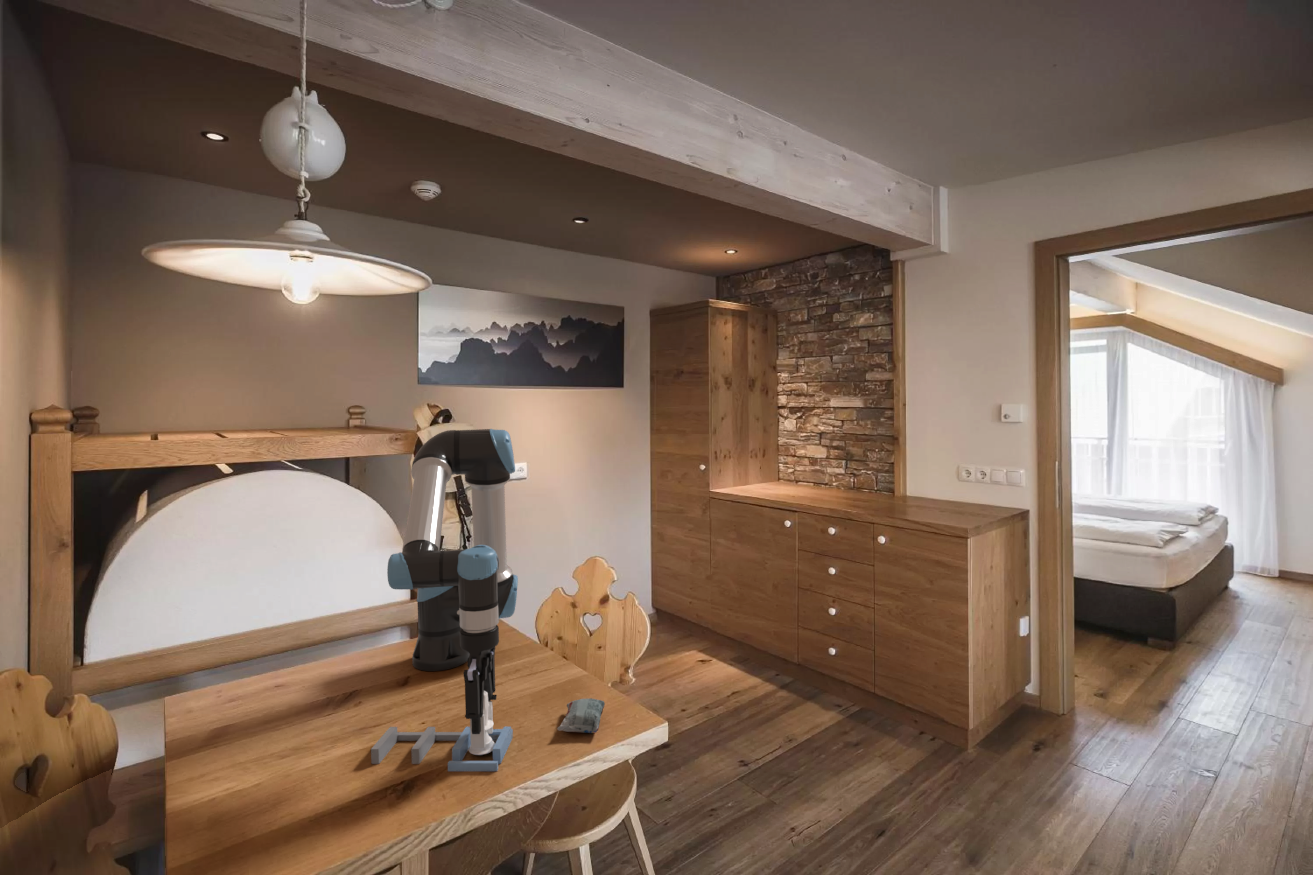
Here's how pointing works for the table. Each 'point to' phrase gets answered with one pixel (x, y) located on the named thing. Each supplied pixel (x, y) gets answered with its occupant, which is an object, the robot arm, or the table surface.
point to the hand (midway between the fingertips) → (482, 739)
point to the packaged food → (583, 716)
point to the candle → (488, 725)
